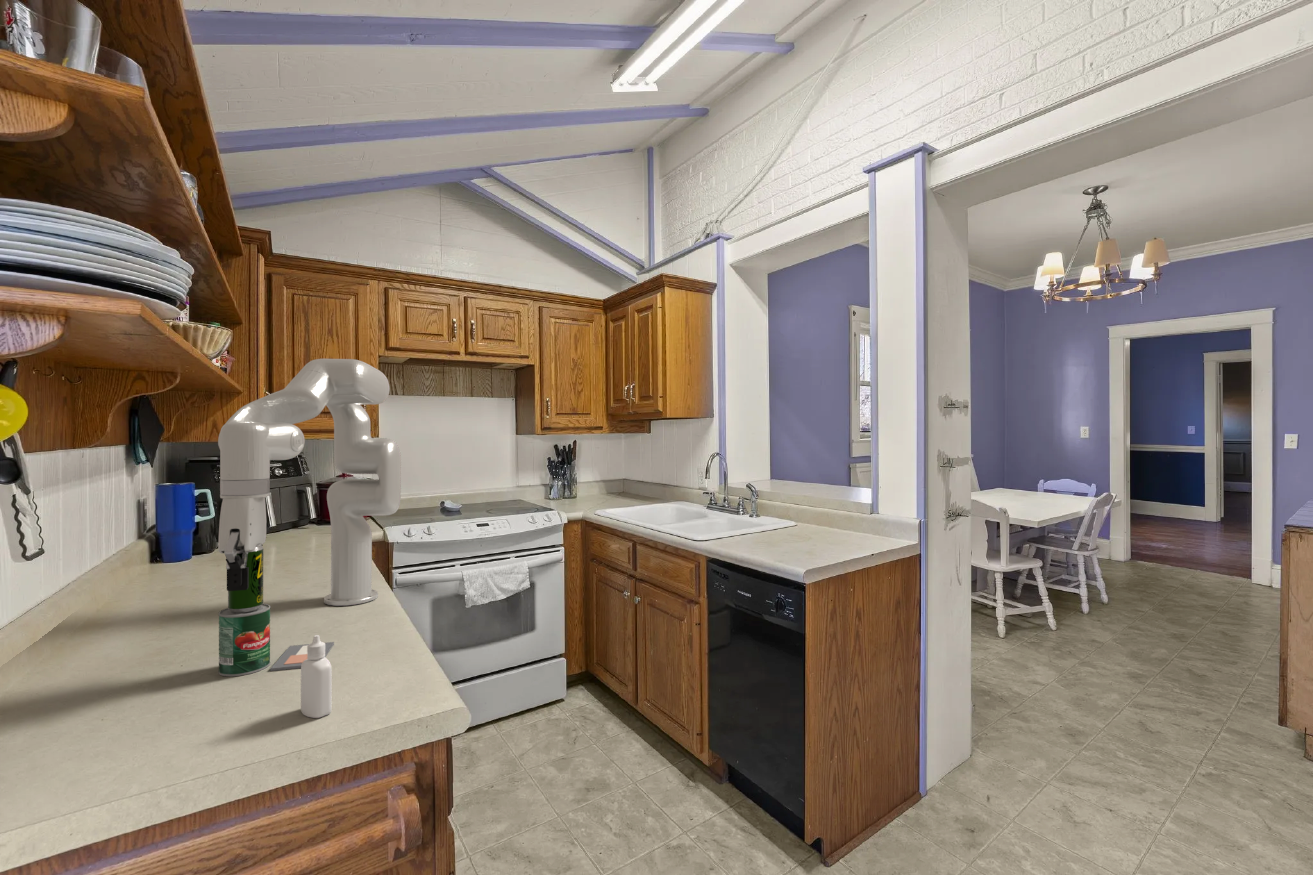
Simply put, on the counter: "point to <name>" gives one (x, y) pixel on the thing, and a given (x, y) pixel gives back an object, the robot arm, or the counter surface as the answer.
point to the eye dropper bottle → (316, 681)
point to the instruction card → (295, 657)
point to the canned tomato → (244, 641)
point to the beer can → (254, 593)
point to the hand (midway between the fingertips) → (245, 584)
